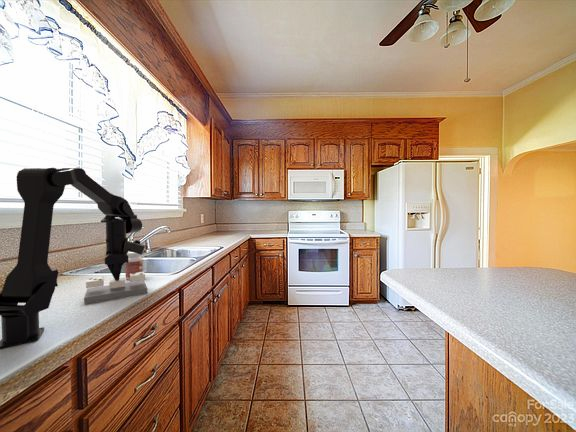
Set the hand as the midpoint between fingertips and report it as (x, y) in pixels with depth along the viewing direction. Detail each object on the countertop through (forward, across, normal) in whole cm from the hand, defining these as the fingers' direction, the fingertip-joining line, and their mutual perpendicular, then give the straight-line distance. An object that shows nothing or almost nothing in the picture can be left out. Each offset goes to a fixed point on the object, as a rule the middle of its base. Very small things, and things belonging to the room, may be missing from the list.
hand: (117, 279), depth 85 cm
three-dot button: (+1, 0, +6) cm, 6 cm away
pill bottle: (+5, +20, -6) cm, 22 cm away
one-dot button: (+2, 0, 0) cm, 2 cm away
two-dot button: (+1, 0, -6) cm, 6 cm away
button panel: (+5, 0, 0) cm, 5 cm away
